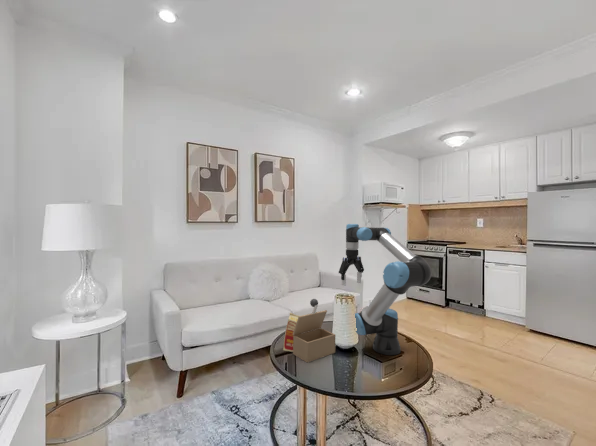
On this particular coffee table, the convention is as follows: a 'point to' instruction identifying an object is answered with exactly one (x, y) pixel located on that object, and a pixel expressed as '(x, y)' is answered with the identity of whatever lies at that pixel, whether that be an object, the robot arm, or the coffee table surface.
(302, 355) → the carton
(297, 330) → the carton lid
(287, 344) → the milk carton
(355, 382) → the coffee table surface
